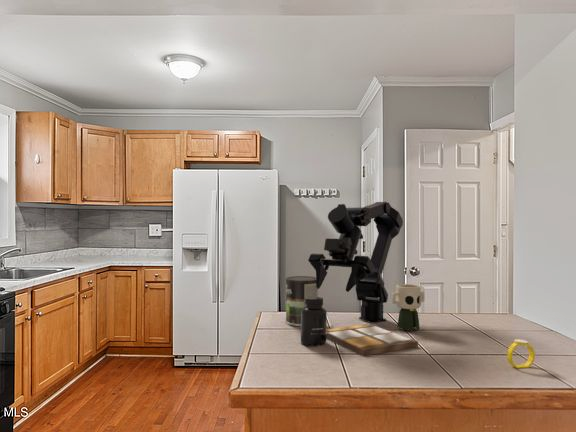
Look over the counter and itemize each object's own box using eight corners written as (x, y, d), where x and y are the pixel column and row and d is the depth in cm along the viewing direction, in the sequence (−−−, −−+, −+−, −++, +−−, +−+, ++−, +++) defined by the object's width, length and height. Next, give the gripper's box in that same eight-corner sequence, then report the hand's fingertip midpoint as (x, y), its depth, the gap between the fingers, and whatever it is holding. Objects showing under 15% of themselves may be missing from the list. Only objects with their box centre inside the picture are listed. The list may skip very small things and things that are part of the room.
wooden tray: (371, 329, 134) (371, 323, 134) (418, 347, 116) (417, 339, 116) (321, 336, 127) (321, 329, 127) (362, 355, 109) (362, 348, 109)
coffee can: (287, 327, 137) (287, 280, 138) (284, 319, 148) (284, 276, 148) (321, 326, 139) (321, 280, 139) (315, 318, 149) (315, 275, 149)
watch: (527, 365, 102) (529, 339, 102) (536, 369, 100) (538, 342, 100) (504, 365, 101) (505, 338, 101) (512, 369, 98) (514, 342, 99)
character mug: (399, 334, 129) (399, 288, 129) (386, 328, 135) (385, 285, 135) (431, 331, 132) (431, 286, 132) (417, 325, 139) (417, 283, 139)
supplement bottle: (317, 348, 115) (317, 301, 115) (295, 343, 119) (295, 298, 119) (331, 342, 121) (331, 297, 121) (310, 338, 125) (310, 294, 125)
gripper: (309, 226, 133) (290, 271, 125) (367, 227, 122) (351, 276, 114) (324, 247, 140) (308, 292, 132) (380, 250, 129) (366, 298, 121)
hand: (331, 289), depth 125 cm, fingers open, 9 cm apart
